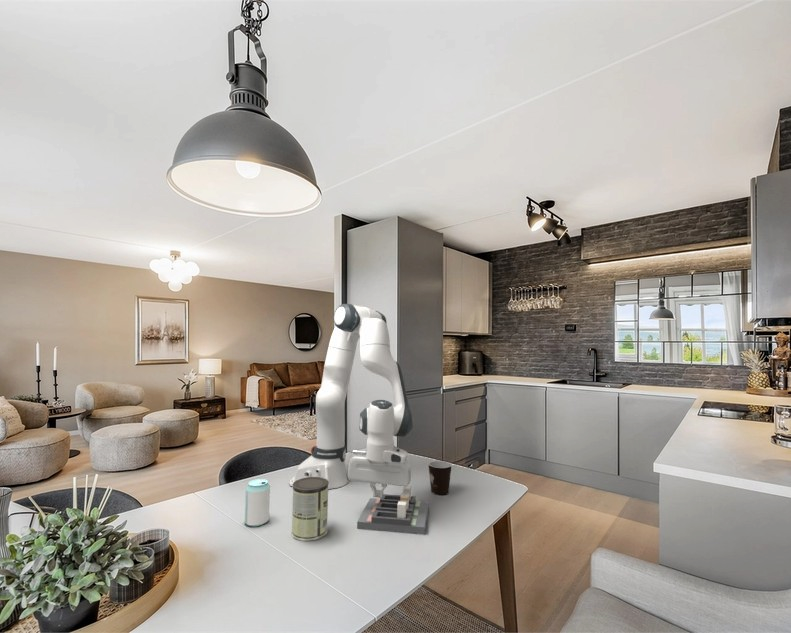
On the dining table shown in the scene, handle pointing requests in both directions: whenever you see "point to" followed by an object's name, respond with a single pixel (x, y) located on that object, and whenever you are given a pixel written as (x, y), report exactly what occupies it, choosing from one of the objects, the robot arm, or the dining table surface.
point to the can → (257, 502)
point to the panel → (393, 515)
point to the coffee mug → (439, 477)
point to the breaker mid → (405, 499)
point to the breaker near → (401, 509)
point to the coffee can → (310, 508)
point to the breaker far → (407, 491)
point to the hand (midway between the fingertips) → (378, 496)
